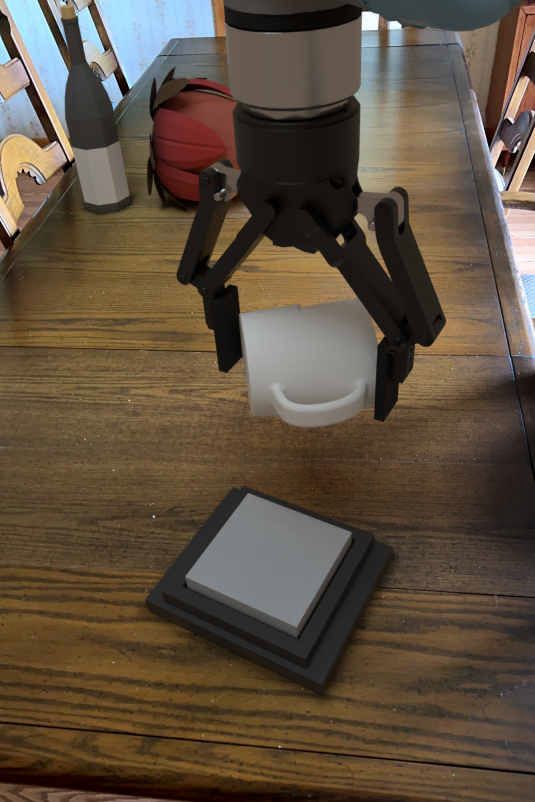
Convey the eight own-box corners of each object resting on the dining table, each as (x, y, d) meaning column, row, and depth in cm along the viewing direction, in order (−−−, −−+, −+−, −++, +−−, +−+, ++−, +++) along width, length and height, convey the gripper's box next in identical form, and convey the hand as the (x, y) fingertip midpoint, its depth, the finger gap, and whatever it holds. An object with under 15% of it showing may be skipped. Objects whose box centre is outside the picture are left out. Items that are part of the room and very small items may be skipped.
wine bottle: (123, 214, 118) (83, 11, 99) (77, 213, 119) (28, 13, 100) (138, 193, 124) (103, -1, 105) (94, 193, 125) (51, 0, 106)
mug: (243, 370, 60) (234, 288, 55) (352, 356, 61) (353, 273, 56) (260, 469, 51) (252, 380, 46) (388, 451, 52) (394, 362, 47)
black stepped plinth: (392, 558, 62) (394, 536, 60) (322, 695, 53) (321, 674, 51) (234, 497, 68) (231, 475, 67) (147, 610, 59) (141, 589, 57)
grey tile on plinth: (351, 544, 60) (351, 532, 59) (297, 638, 54) (296, 627, 53) (249, 504, 64) (248, 492, 63) (187, 588, 58) (185, 576, 57)
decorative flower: (154, 227, 124) (326, 249, 121) (123, 144, 102) (333, 169, 99) (179, 121, 130) (344, 140, 127) (155, 20, 108) (353, 41, 105)
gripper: (529, 100, 39) (478, 402, 52) (162, 63, 49) (199, 323, 63) (488, 148, 34) (444, 467, 48) (90, 95, 44) (147, 370, 58)
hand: (305, 385), depth 55 cm, fingers closed on mug, 13 cm apart
